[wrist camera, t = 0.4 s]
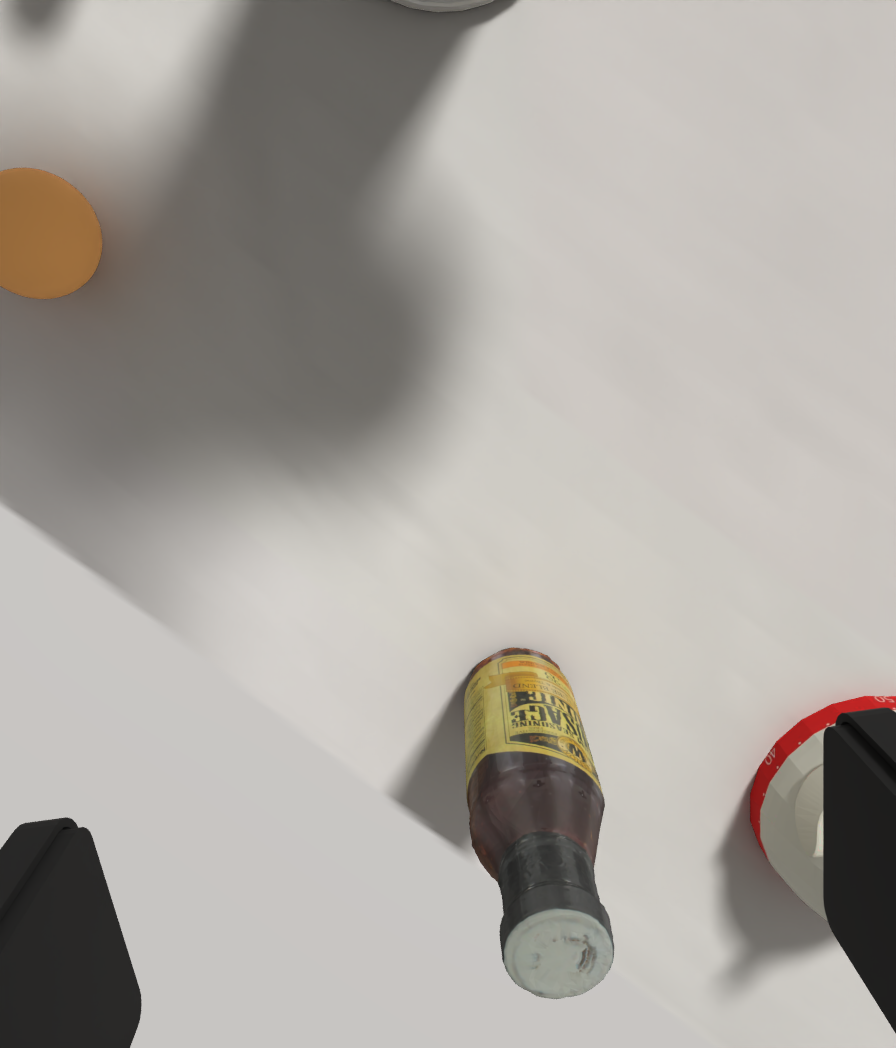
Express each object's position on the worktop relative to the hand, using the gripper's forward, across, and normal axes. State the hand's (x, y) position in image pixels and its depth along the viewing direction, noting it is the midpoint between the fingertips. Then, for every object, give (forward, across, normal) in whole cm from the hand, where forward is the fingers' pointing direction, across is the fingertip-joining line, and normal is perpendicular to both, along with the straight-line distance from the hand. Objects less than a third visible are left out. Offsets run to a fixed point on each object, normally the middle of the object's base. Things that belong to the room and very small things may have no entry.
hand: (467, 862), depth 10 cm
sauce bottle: (+34, -2, +16) cm, 38 cm away
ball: (+31, +17, -11) cm, 37 cm away
